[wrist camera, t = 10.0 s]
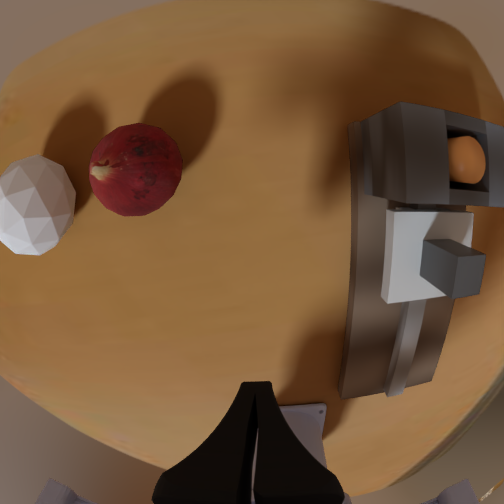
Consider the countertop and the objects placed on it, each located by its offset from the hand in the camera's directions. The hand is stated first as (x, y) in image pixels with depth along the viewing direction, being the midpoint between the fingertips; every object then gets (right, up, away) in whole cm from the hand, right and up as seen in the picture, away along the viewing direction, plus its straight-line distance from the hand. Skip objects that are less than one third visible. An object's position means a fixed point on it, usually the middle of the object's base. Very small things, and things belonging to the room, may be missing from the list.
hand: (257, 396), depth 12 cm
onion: (-7, +13, +7) cm, 16 cm away
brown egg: (+12, +13, +2) cm, 17 cm away
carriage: (+12, +7, +6) cm, 15 cm away
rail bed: (+12, +5, +8) cm, 16 cm away
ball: (-17, +11, +8) cm, 22 cm away
